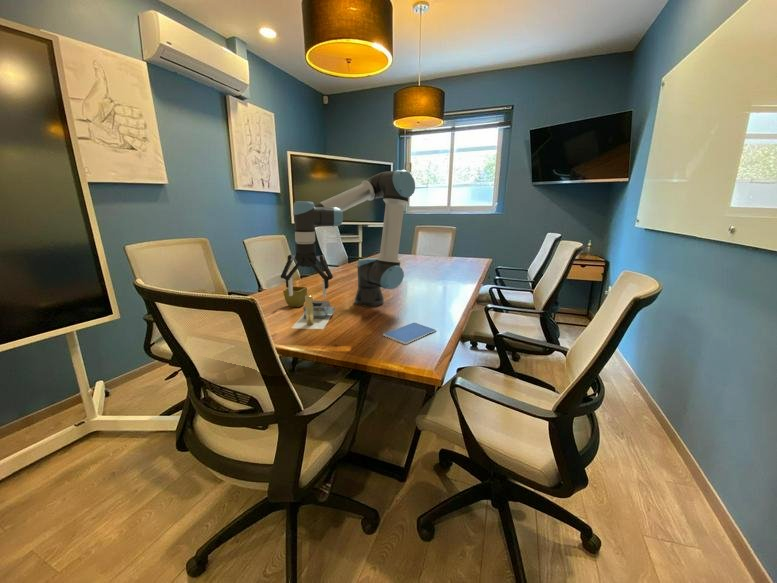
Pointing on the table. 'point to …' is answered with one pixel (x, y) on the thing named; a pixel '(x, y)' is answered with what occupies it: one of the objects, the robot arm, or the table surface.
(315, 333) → the table surface
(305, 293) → the flower pot
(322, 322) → the mounting plate
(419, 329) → the tablet computer
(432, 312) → the table surface
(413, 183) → the robot arm
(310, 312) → the brass pin
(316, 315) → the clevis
